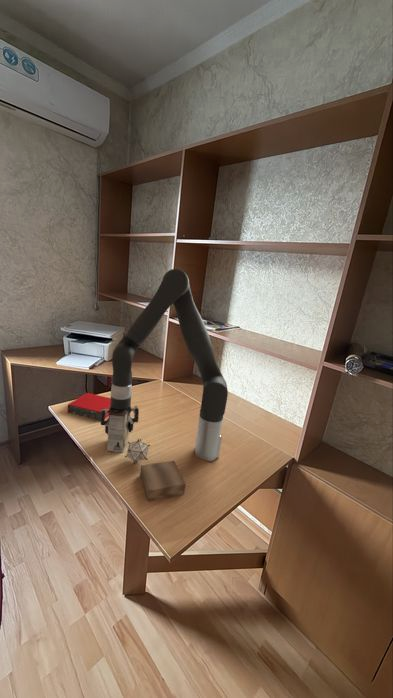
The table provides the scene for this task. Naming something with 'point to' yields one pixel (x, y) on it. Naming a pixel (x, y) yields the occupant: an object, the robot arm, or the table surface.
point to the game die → (137, 451)
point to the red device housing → (90, 406)
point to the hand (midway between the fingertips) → (118, 432)
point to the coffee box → (118, 430)
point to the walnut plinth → (162, 480)
